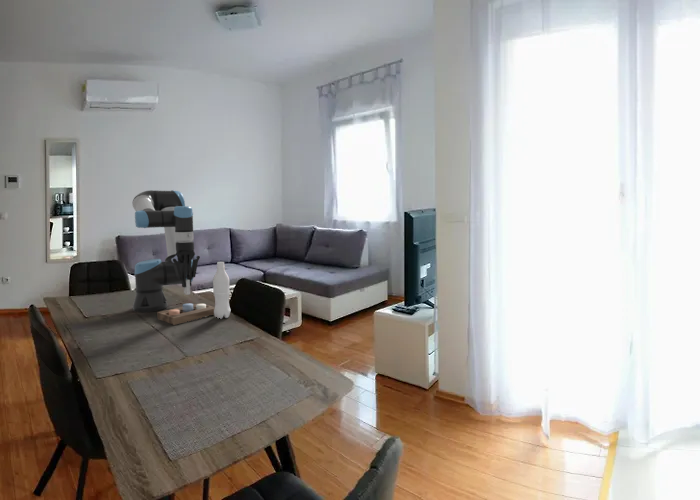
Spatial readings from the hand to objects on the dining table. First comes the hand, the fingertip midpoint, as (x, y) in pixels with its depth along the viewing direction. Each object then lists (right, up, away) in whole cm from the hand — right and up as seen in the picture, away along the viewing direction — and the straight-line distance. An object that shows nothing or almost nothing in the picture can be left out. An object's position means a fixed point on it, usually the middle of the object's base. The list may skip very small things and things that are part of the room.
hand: (187, 293), depth 184 cm
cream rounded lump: (+4, -10, +7) cm, 12 cm away
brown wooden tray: (0, -10, +2) cm, 10 cm away
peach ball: (-4, -11, -4) cm, 12 cm away
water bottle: (+16, -11, +1) cm, 19 cm away
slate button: (0, -9, +1) cm, 9 cm away
